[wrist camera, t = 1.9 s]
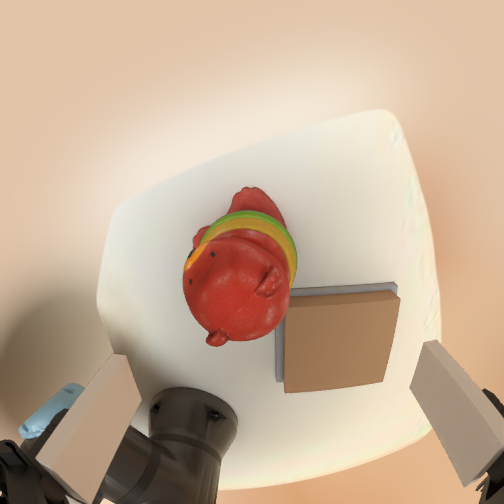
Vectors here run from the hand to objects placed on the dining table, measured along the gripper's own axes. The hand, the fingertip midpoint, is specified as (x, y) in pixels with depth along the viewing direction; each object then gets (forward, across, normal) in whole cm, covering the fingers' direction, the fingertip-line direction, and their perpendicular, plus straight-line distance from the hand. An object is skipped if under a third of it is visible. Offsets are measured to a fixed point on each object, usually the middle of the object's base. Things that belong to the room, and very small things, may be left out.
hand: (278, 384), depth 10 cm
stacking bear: (+23, -2, +1) cm, 23 cm away
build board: (+23, +9, -12) cm, 27 cm away
